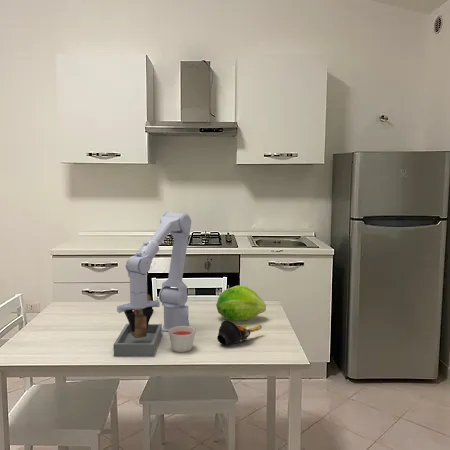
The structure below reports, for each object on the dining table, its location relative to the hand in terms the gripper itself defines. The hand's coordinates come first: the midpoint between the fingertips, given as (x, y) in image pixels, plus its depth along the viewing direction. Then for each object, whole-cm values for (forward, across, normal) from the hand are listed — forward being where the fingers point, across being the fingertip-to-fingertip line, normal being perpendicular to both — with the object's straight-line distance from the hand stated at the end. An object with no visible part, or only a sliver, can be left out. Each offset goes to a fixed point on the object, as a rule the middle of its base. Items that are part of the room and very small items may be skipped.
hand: (139, 329), depth 162 cm
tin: (+6, -12, -29) cm, 32 cm away
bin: (+5, 0, 0) cm, 5 cm away
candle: (+6, -12, +10) cm, 16 cm away
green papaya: (+6, -45, -7) cm, 46 cm away
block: (+2, 0, 0) cm, 2 cm away
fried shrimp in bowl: (+6, -32, +14) cm, 36 cm away
